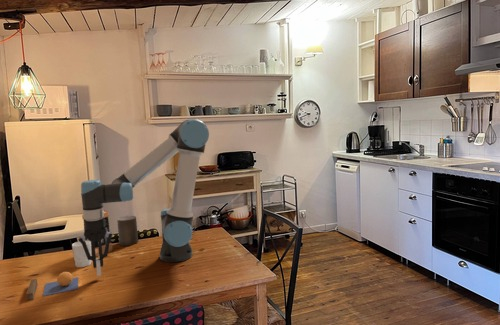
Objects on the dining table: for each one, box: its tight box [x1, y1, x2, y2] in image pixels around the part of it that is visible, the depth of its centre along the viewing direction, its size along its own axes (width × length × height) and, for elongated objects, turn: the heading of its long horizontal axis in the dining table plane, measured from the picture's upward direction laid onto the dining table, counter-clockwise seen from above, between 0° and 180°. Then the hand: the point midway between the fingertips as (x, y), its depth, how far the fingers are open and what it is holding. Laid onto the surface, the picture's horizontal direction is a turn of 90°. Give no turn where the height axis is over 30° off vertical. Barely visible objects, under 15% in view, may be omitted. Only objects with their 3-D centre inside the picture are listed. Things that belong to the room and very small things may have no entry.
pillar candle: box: [116, 215, 139, 247], centre depth 195 cm, size 10×10×15 cm
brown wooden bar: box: [25, 278, 39, 301], centre depth 141 cm, size 2×14×2 cm, turn 24°
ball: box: [56, 271, 74, 286], centre depth 146 cm, size 6×6×6 cm
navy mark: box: [42, 276, 79, 297], centre depth 145 cm, size 12×12×1 cm
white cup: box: [71, 240, 93, 268], centre depth 167 cm, size 8×8×10 cm
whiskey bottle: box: [81, 209, 113, 257], centre depth 181 cm, size 10×10×32 cm
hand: (99, 274), depth 151 cm, fingers closed
